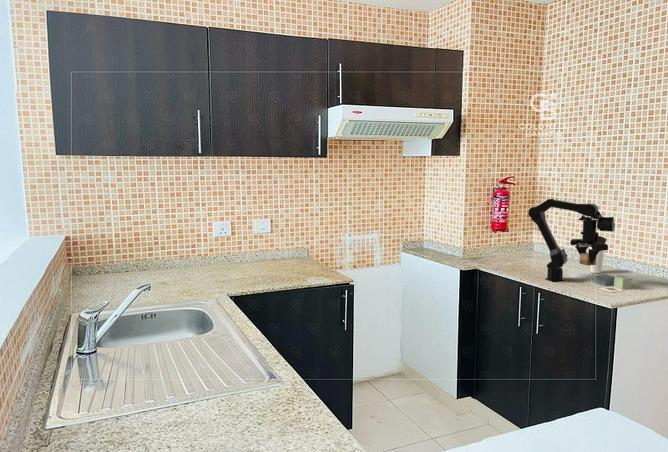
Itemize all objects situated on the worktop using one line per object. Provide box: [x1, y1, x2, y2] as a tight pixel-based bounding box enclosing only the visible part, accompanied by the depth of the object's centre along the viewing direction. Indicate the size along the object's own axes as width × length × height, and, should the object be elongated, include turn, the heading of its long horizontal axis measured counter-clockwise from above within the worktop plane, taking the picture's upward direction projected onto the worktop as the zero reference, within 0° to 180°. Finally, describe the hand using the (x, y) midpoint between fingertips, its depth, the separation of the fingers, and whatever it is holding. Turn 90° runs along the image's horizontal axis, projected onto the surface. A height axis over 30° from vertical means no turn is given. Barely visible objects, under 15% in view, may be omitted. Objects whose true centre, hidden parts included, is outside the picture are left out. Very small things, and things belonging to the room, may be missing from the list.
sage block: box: [613, 275, 633, 290], centre depth 235 cm, size 5×5×5 cm
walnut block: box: [579, 252, 596, 266], centre depth 241 cm, size 5×5×5 cm
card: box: [599, 286, 625, 293], centre depth 232 cm, size 7×7×1 cm
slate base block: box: [592, 273, 616, 287], centre depth 244 cm, size 7×7×4 cm
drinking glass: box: [589, 247, 605, 274], centre depth 267 cm, size 7×7×15 cm
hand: (587, 262), depth 241 cm, fingers closed on walnut block, 5 cm apart
